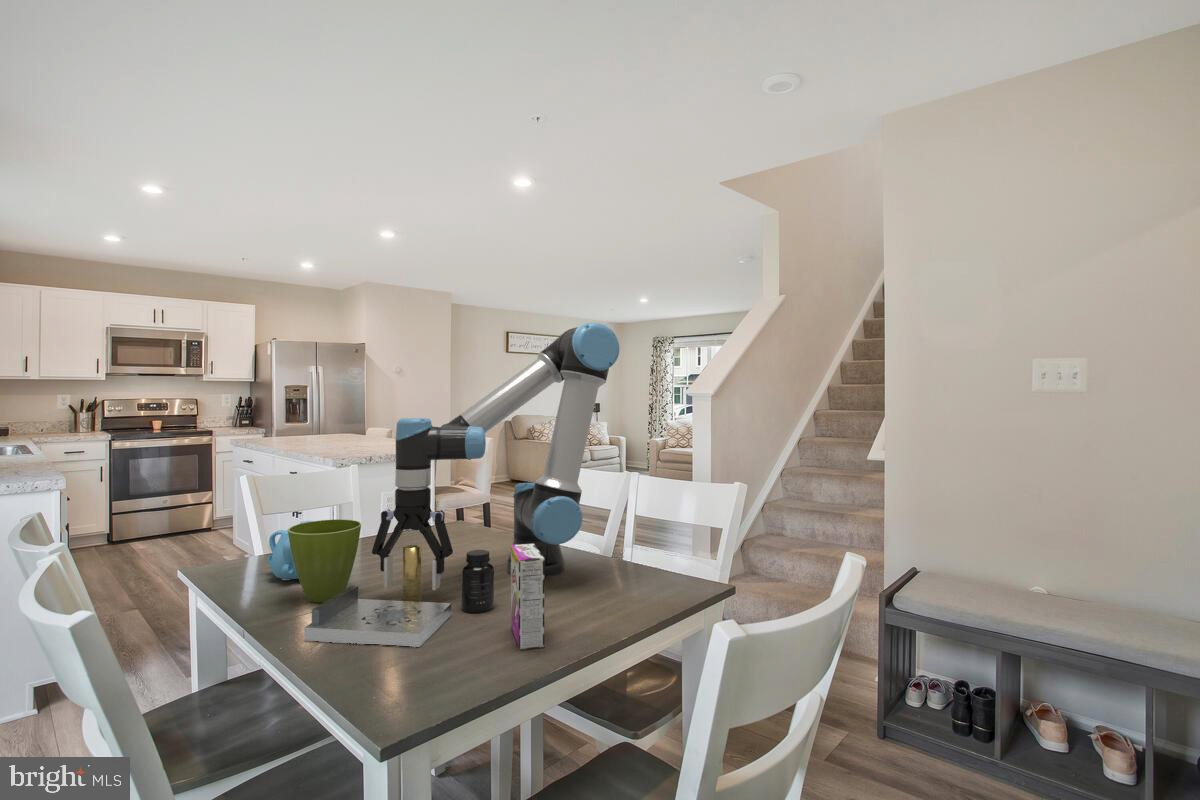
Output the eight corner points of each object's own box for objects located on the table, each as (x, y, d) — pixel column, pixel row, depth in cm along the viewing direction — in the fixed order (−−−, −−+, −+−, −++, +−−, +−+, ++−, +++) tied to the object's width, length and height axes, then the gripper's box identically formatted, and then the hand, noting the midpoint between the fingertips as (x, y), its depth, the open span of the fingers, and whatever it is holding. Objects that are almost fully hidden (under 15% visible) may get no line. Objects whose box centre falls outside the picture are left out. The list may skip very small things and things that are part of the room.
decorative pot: (348, 578, 147) (349, 523, 147) (275, 589, 137) (276, 531, 138) (333, 563, 160) (334, 513, 160) (265, 573, 151) (266, 519, 151)
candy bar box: (508, 627, 116) (509, 544, 116) (534, 625, 117) (535, 542, 117) (517, 651, 105) (518, 559, 105) (545, 648, 106) (546, 557, 106)
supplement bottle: (458, 605, 128) (459, 549, 128) (489, 601, 131) (490, 547, 131) (464, 615, 122) (465, 557, 122) (497, 611, 125) (497, 554, 125)
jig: (451, 615, 122) (451, 588, 122) (419, 647, 106) (419, 617, 106) (350, 610, 124) (350, 584, 124) (304, 641, 108) (304, 611, 108)
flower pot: (324, 612, 123) (325, 536, 123) (271, 603, 128) (271, 530, 128) (374, 591, 137) (375, 522, 137) (325, 583, 142) (325, 517, 142)
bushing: (424, 597, 133) (424, 544, 133) (416, 603, 129) (417, 548, 129) (407, 596, 133) (407, 543, 133) (399, 602, 129) (399, 547, 129)
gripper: (468, 486, 134) (467, 583, 134) (372, 483, 136) (371, 579, 136) (457, 491, 126) (456, 594, 126) (355, 488, 129) (354, 589, 129)
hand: (412, 586), depth 131 cm, fingers open, 10 cm apart
